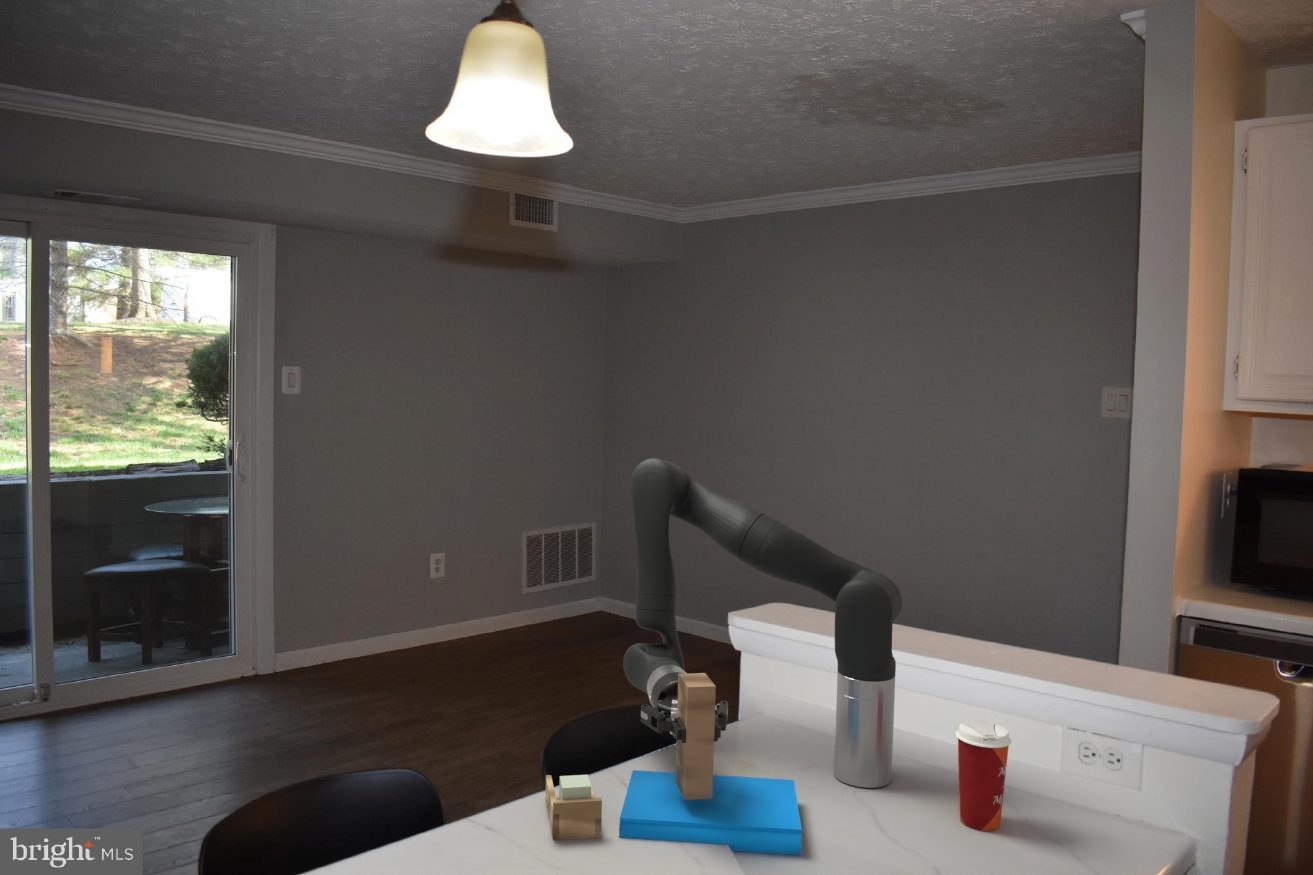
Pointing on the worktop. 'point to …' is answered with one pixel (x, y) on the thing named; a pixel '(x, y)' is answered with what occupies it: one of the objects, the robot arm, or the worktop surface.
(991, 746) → the paper cup
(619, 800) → the worktop surface
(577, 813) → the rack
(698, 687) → the tall wooden block
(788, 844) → the book
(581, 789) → the offcut upper
